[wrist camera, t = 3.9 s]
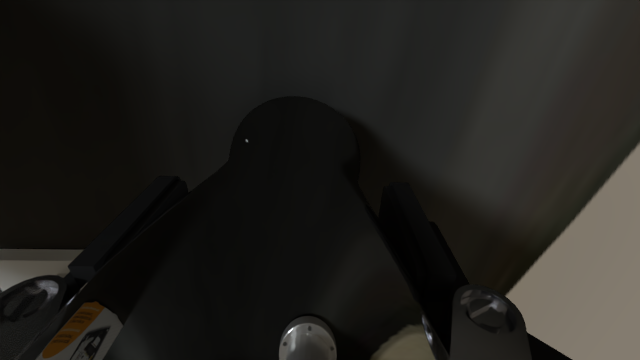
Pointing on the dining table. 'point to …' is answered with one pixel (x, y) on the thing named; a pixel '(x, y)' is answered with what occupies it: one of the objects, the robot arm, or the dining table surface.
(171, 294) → the beer glass
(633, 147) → the dining table surface
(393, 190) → the robot arm
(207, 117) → the dining table surface
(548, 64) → the dining table surface
